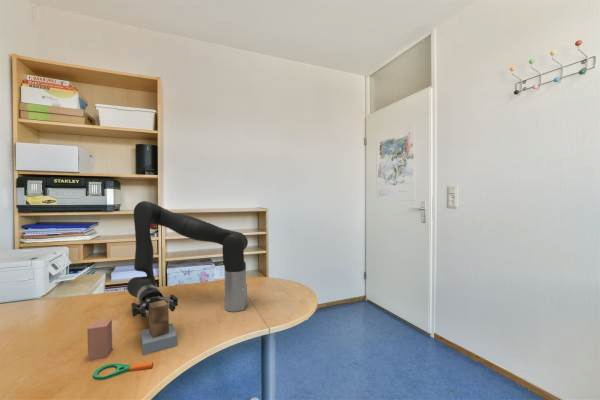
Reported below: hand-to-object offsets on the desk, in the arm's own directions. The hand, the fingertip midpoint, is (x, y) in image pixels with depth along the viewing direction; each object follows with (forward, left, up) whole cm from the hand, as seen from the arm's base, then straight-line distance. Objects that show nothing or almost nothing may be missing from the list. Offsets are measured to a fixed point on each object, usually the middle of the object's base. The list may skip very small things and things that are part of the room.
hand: (159, 311), depth 93 cm
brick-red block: (+16, +6, -11) cm, 21 cm away
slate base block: (+1, -1, -12) cm, 12 cm away
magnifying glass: (+4, +13, -12) cm, 18 cm away
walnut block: (+1, -1, -8) cm, 8 cm away
